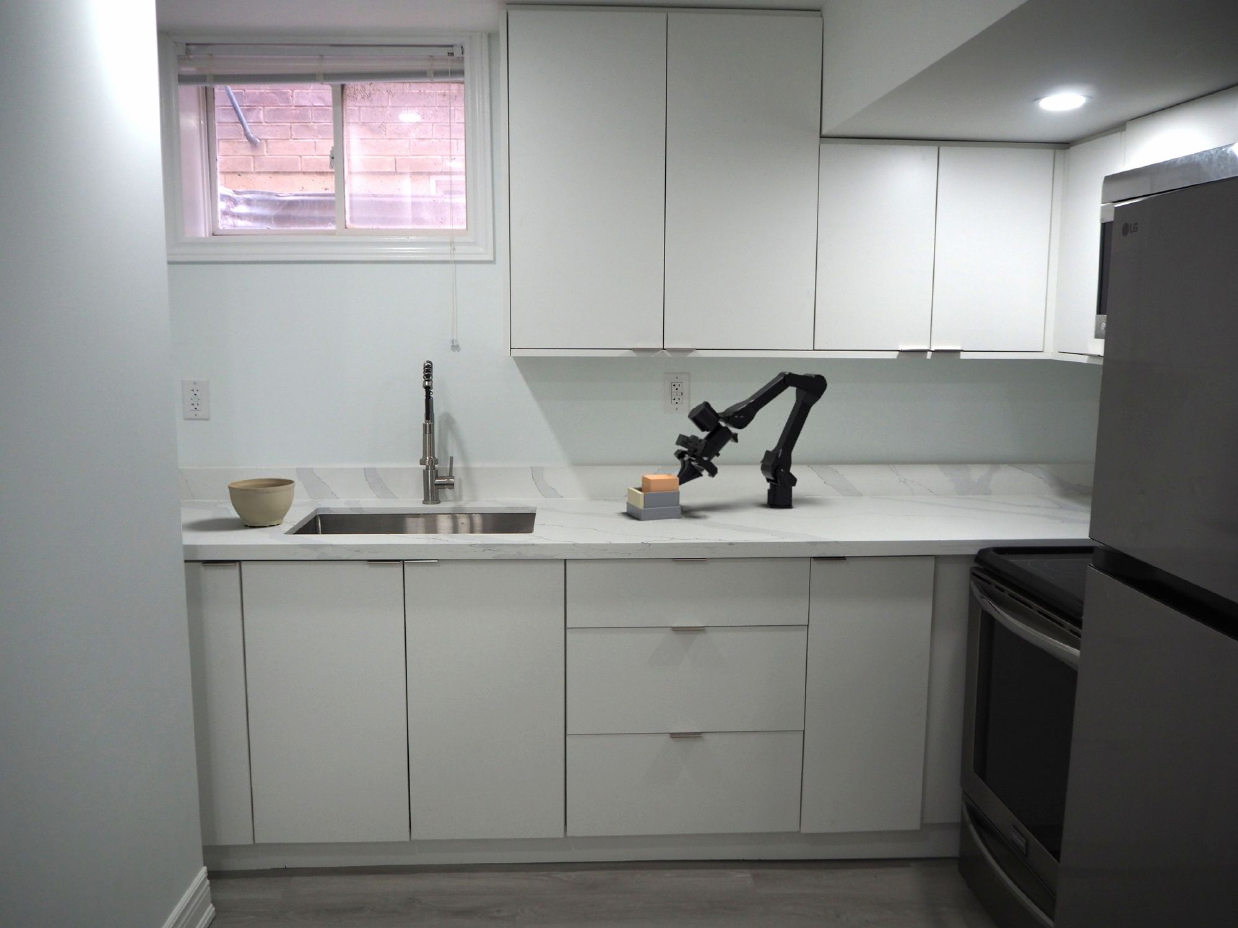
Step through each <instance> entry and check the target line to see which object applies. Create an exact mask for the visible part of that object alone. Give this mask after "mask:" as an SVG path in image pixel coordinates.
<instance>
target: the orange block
mask: <svg viewBox="0 0 1238 928" xmlns="http://www.w3.org/2000/svg"><path fill="white" fill-rule="evenodd" d="M641 487H642V493H648V492H665V491H680V486H679V478H678V477H677V475H676V476H675V475H672V474H670V473H664V474H644V475H643V474H642V475H641Z"/></svg>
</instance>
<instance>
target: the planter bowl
mask: <svg viewBox="0 0 1238 928" xmlns="http://www.w3.org/2000/svg"><path fill="white" fill-rule="evenodd" d="M295 486H296V481H295V480H293V479H289V478H282V477H281V478H280V477H278V478H277V477H275V478H274V477H264V478H263V477H262V478H260V477H259V478H258V477H257V478H250V479H249V478H248V479H247V478H246V479H242V480H235V481H231V482H229V483H228V484H227V488H228V491H229V492H228V493H229V498H230V502H231V504H232V507H233V508H234V511H235V512H236V514H237V515H238V517H239V518H240V519H241V520H242V524H243V525H244V526H245V525H248V526H247V527H249V526H267V525H275V526H278V525H277V524H279V525H281V524H283V522H284V518H285V517H286V516H287V513H288V512H289V511H290V509H291V507H292V504H293V501H294V497H295ZM267 527H268V526H267Z"/></svg>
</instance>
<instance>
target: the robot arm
mask: <svg viewBox="0 0 1238 928" xmlns="http://www.w3.org/2000/svg"><path fill="white" fill-rule="evenodd" d="M790 387H791V388H796V389H795V402H794V403H793V406H792V409H791V411H790V412H789V413H790V414H789V416H788V417H787V420H786V422H785V424H784V427H783V429H782V432H781V434H780V436H779V438H778V440H777V443H776V445H775V447H774V448H773V449H772V450H769V449H766V450H765V451H764V455H763V458H762V460H760V462H759V463H760V464H761V465H760V472H761V474H762V475H763V477H764V478H765V481H766V483H768V484H769V487H768V488H767V490H766V491H767V492H766V494H767V495H766V503H767V505H768V507H769V508H776V509H777V508H780V509H781V508H782V509H783V508H785V509H787V508H788V509H793V507H794V506H793V487H796V486H797V482H798V478H797V477H796V476H795V475H794V474H793V473H792V472H791V468H792V465H793V461H792V459H793V457H792V454H793V451H794V448H795V446H796V444H797V442H798V440H799V437H800V434H801V433H802V430H803V428H804V425H805V423H806V421H807V419H808V417H809V415H810V412H811V409H812V408H813V406H815V405H816V403H818V401H820V399H822V397H823V395H824V393H825V392H826V390H827V387H828V381H827V379H826V377H825V376H824V375H822V374H818V373H806V372H805V373H804V374H798V373H793V372H791V371H781V372H779V373H778V374H777V375H776V376H775V377H773V378H772V379H771V380H769V382H767V383H766V384H765V385H763V386H762V387H761V388H759V389H758V390H757V391H756V392H754V393H753V394H751V396H749V397H747V398H746V399H745V400H741V401H739V402H737V403H735V404H732V405H731V406H729V407H727V408H726V409H725V410H723V411H720V412H717V411H716V410H715V409H714V408H713V406H712V405H711V403H710V402H709V401H706V400H704V401H703V402H702V403H699V404H697V405H696V406H695V407H693V408H692V409H691V410H690V411H689V412H688V414H687V418H688V419H689V421H690V422H692V424H694V426H695V427H696V428H697V429H698V430H699V431H700V432H701V433H705V432H706V433H707V434H706V435H705V436H703V438H700V437H699V436H697V435H695V434H691V435H690V436H688V435H685V434H683V433H679V434H678V436H677V439H676V441H675V443H674V445H675V446H677V447H678V446H679V447H682V448H685V449H682V448H680V449H679V448H677V449H676V450H675V452H673V456H674V457H675V458H676V459H677V460H678V461H679V462H680V469H679V470H678V473H677V475H676V477H678V478H679V487H680V486H682V485H684V484H686V483H688V482H691V481H694V480H696V479H700V478H701V477H703V476H704V474H703V473H704V471H705V472H706V473H707V476H708V477H710V478H712V479H714V478H716V477H715V476H716V475H718V473H719V472H718V469H719V468H718V467H717V466H716V465H715V464H714V463H713V462H712V461H713V459H715V457H717V458H718V457H720V456H721V453H720V451H722V449H723V448H724V447H725V446H726V445H727V444H728V443H729V442H731V443H735V444H738V443H739V436H738V435H739V433H738V432H733V431H732V430H731V428H732V429H735V430H744V429H745V428H747V427H748V426H749V425H750V424H751V423H752V421H754V419H755V417H756V416H757V413H759V411H760V410H762V409H763V408H764V407H766V405H768V404H769V403H771V402H772V401H773V400H774V399H776V398H777V397H778V396H779V395H781V394H782V393H783V392H785V391H786V390H787V389H788V388H790ZM722 423H723V425H722ZM686 449H687V450H686Z"/></svg>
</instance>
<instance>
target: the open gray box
mask: <svg viewBox="0 0 1238 928" xmlns="http://www.w3.org/2000/svg"><path fill="white" fill-rule="evenodd" d="M680 498H681V497H680V490H679V491H665V492H648V493H642V486H637V487H635V486H634V487H627V501H626V513H627V514H628V515H631V516H632V517H634V518H637V519H638V520H640V521H642V522H643V521H654V520H655V521H656V520H668V519H669V520H670V519H681V518H682V506H681V505H680Z"/></svg>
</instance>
